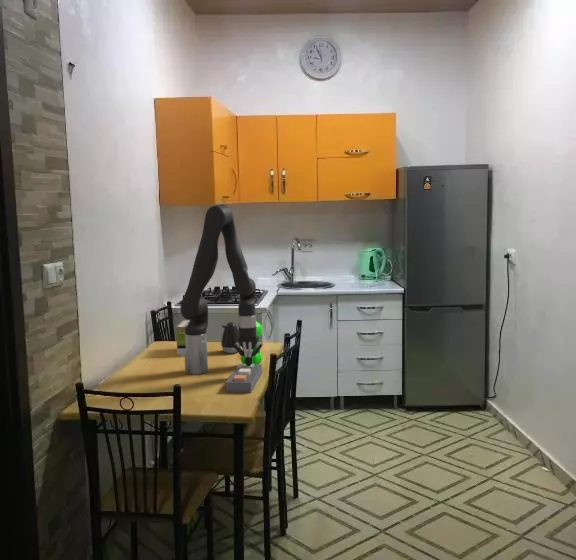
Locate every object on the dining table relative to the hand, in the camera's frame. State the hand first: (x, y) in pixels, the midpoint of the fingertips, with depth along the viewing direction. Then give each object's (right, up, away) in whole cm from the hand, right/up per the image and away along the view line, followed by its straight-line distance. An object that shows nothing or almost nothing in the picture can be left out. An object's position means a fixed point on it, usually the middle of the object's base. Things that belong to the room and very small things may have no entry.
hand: (248, 365), depth 257 cm
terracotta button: (-2, -5, -17) cm, 18 cm away
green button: (0, -3, +1) cm, 3 cm away
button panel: (-1, -6, -8) cm, 10 cm away
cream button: (-1, -4, -8) cm, 9 cm away
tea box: (-32, 0, +44) cm, 54 cm away
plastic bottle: (0, -3, +16) cm, 16 cm away
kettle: (-11, 0, +41) cm, 43 cm away
